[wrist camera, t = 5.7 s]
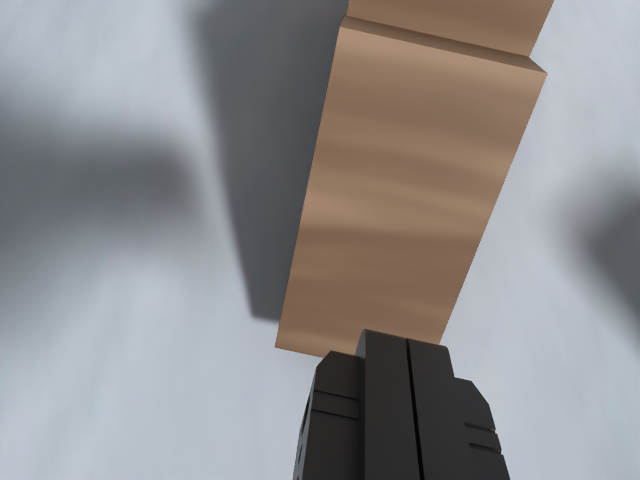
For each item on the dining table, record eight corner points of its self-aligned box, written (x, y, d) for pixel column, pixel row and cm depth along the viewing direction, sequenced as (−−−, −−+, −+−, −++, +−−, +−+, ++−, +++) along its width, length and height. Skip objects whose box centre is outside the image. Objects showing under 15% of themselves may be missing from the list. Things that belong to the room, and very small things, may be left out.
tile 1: (424, 379, 18) (547, 73, 13) (274, 347, 18) (339, 27, 13) (420, 339, 20) (527, 56, 15) (283, 310, 20) (344, 15, 15)
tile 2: (439, 261, 20) (572, -42, 13) (302, 231, 19) (367, -89, 13) (437, 226, 21) (554, -60, 15) (309, 198, 21) (371, -102, 14)
